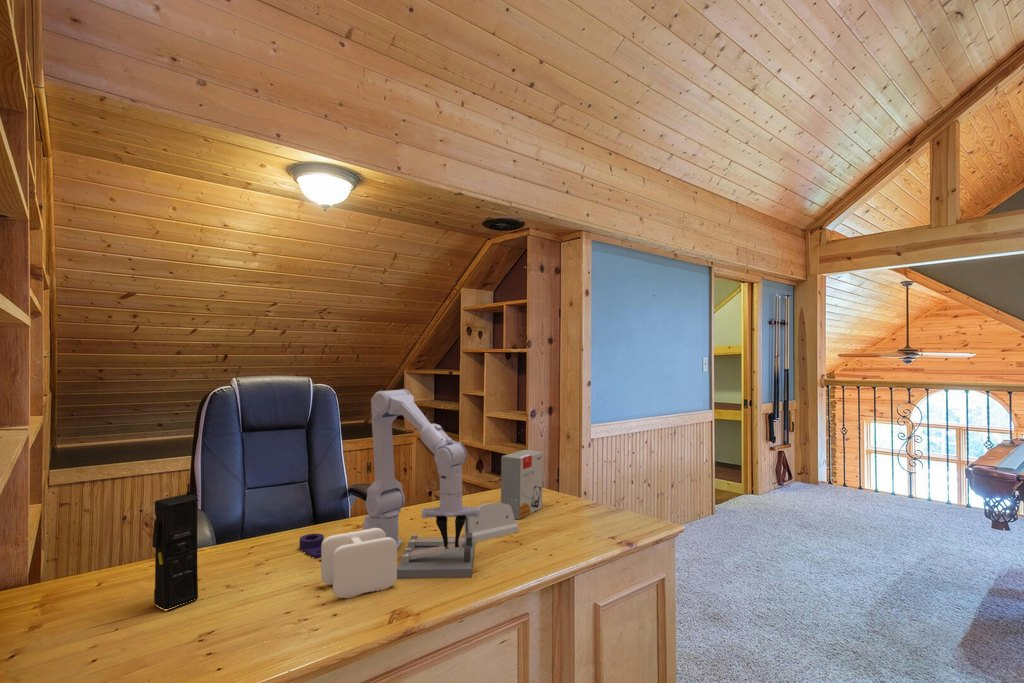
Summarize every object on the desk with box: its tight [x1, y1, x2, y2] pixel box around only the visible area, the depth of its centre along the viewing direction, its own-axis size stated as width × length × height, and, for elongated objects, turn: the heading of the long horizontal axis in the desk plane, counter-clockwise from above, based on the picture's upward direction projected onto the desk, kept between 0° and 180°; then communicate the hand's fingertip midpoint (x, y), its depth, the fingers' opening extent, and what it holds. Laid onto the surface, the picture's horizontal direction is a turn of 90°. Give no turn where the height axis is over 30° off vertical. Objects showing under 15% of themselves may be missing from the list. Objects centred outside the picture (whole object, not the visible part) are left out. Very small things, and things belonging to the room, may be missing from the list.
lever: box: [299, 532, 325, 559], centre depth 145 cm, size 12×6×3 cm, turn 35°
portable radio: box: [151, 483, 199, 609], centre depth 115 cm, size 8×6×25 cm
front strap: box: [405, 542, 462, 560], centre depth 133 cm, size 15×3×1 cm, turn 92°
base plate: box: [397, 533, 476, 579], centre depth 138 cm, size 18×22×5 cm
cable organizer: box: [320, 528, 398, 599], centre depth 123 cm, size 15×11×12 cm
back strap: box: [410, 537, 465, 546], centre depth 143 cm, size 15×3×1 cm, turn 92°
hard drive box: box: [500, 449, 544, 520], centre depth 179 cm, size 16×8×20 cm, turn 147°
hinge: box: [463, 502, 520, 543], centre depth 158 cm, size 17×5×10 cm, turn 124°
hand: (451, 545), depth 133 cm, fingers closed
